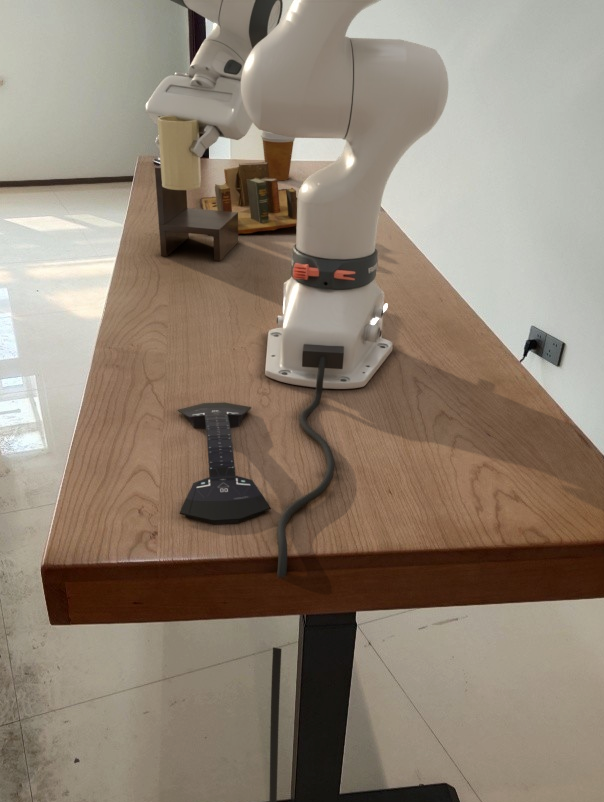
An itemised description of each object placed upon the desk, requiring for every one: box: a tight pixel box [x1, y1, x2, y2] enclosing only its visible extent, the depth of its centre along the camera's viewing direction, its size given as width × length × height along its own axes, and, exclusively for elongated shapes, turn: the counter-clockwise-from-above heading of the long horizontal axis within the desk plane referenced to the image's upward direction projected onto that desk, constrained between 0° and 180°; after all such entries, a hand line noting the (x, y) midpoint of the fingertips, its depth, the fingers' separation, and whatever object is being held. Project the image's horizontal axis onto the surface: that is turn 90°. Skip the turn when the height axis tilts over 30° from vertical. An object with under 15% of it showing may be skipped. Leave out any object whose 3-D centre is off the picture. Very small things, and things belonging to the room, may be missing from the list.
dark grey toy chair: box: [154, 164, 239, 262], centre depth 144 cm, size 14×12×16 cm
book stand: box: [199, 161, 298, 236], centre depth 167 cm, size 35×24×15 cm
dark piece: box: [177, 402, 272, 525], centre depth 82 cm, size 9×25×3 cm, turn 8°
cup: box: [157, 116, 202, 191], centre depth 119 cm, size 6×6×10 cm
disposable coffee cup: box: [260, 130, 296, 181], centre depth 205 cm, size 10×10×12 cm
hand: (177, 150), depth 119 cm, fingers closed on cup, 6 cm apart
